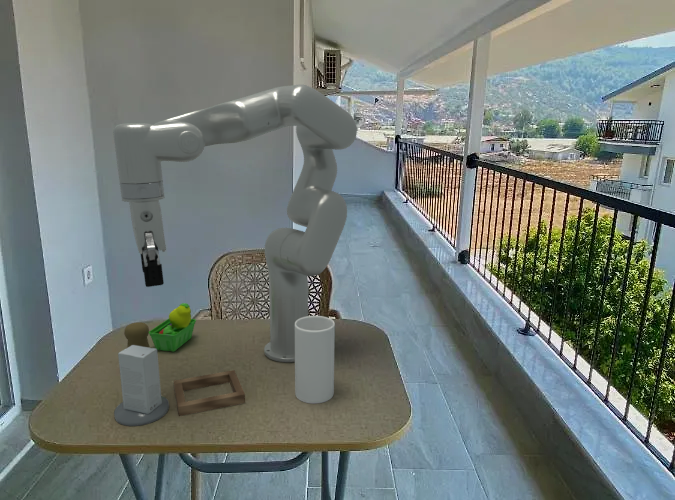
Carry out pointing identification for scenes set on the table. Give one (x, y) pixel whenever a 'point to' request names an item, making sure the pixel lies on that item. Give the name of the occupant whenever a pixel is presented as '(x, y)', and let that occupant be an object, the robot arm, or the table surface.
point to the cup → (314, 359)
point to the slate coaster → (140, 414)
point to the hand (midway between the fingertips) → (152, 278)
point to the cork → (137, 334)
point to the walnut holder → (209, 402)
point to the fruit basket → (174, 329)
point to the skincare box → (140, 379)
